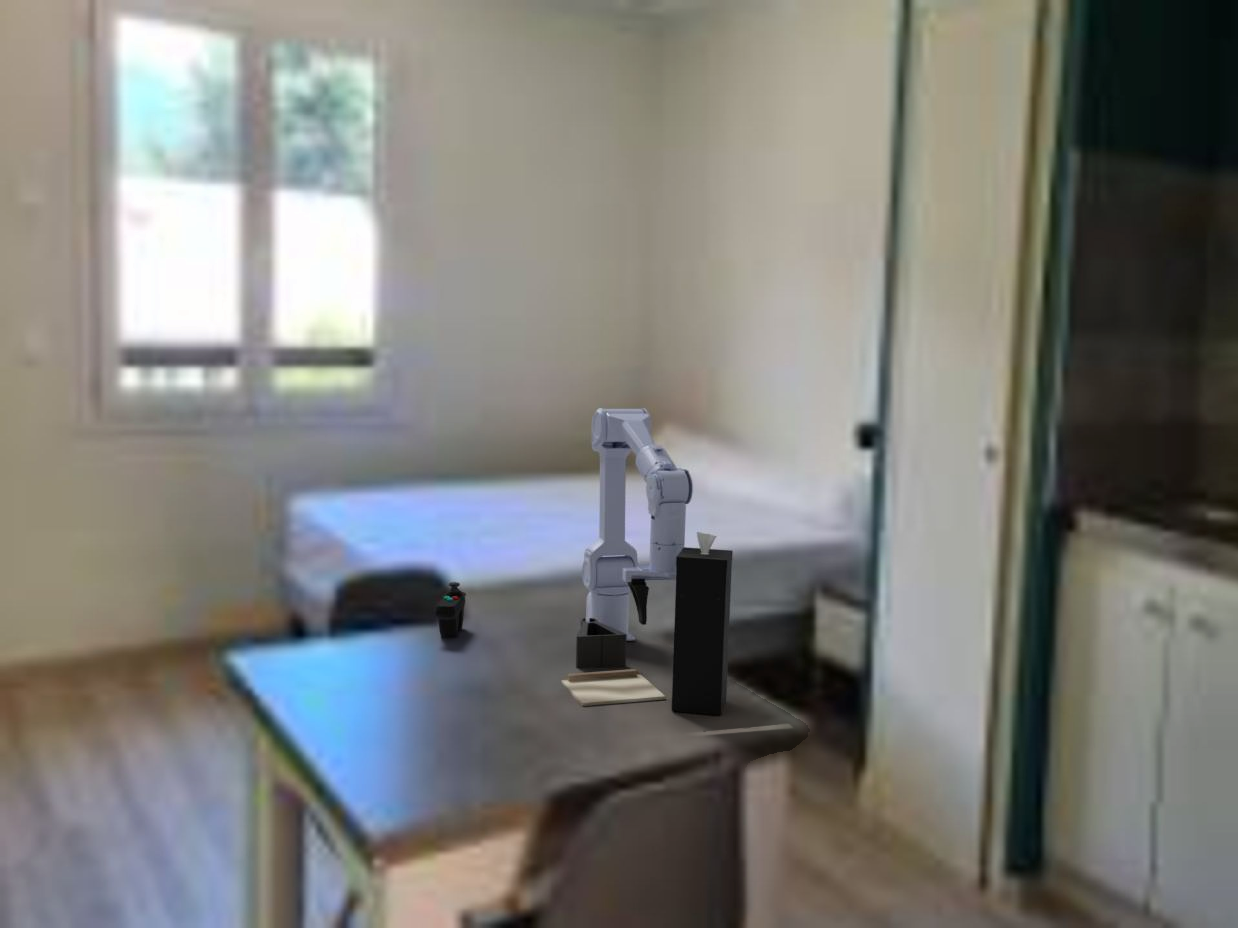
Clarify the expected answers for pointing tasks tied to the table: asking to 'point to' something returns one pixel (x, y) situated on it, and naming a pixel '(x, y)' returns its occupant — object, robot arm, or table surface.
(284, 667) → the table surface
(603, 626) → the dark grey open container
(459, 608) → the controller
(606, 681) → the book stand
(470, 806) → the table surface
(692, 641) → the tissue box
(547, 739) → the table surface
